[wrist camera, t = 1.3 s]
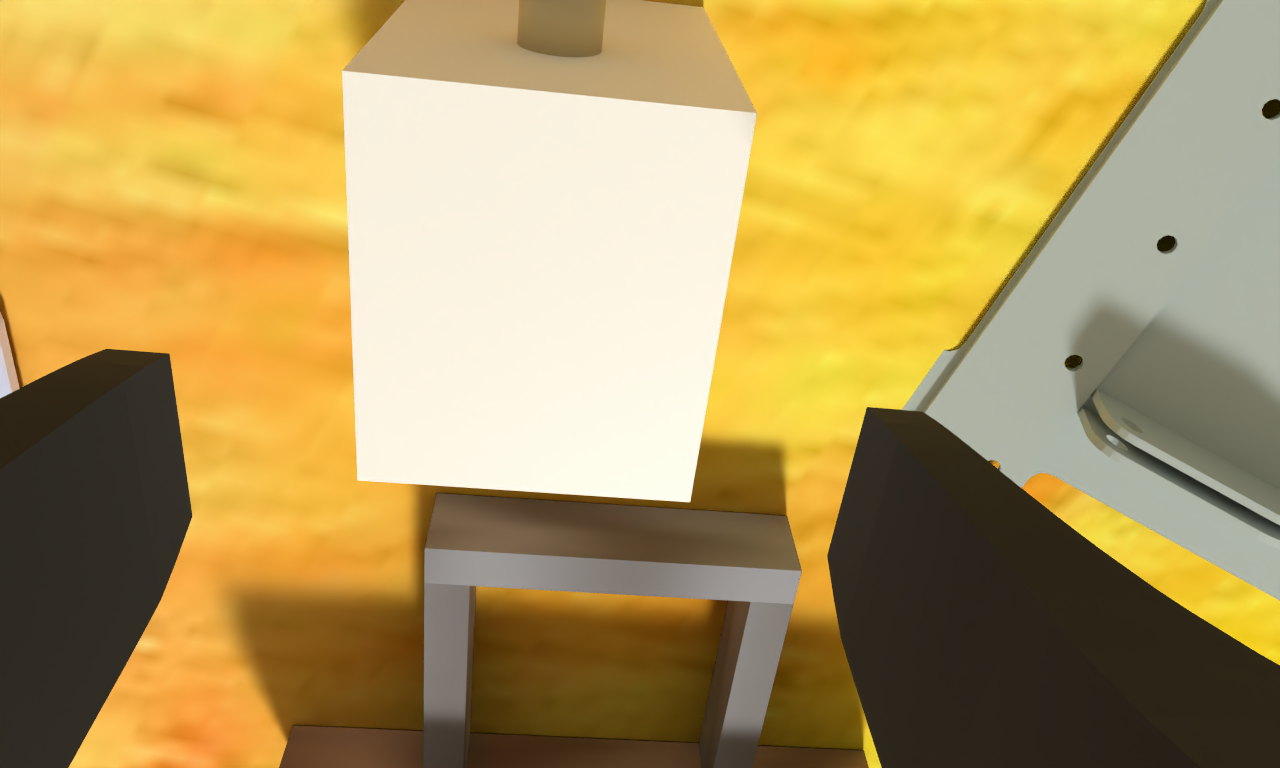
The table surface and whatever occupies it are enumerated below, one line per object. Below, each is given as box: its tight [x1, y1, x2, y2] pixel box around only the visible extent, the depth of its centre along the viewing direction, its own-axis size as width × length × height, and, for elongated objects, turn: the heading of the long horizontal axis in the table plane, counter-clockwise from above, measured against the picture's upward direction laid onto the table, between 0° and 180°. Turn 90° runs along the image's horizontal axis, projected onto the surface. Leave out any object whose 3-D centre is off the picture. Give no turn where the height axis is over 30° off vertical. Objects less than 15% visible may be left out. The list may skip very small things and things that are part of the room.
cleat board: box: [279, 493, 869, 768], centre depth 24 cm, size 16×10×5 cm, turn 84°
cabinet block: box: [342, 0, 757, 502], centre depth 16 cm, size 5×7×7 cm
